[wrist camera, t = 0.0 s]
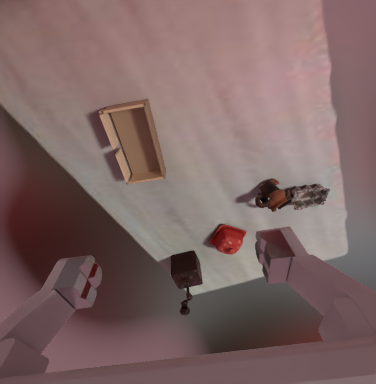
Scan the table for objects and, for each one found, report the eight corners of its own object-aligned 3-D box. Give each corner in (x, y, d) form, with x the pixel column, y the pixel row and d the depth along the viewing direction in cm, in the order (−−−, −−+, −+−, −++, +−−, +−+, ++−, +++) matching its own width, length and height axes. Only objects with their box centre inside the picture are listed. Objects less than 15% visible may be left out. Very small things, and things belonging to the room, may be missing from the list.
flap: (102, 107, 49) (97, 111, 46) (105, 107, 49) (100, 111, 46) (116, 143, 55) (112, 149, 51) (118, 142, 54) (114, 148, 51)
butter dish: (221, 221, 74) (226, 238, 67) (247, 229, 78) (254, 246, 71) (207, 240, 80) (210, 258, 73) (231, 247, 83) (236, 265, 76)
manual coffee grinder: (169, 255, 84) (167, 299, 69) (194, 249, 83) (198, 292, 68) (180, 275, 93) (181, 318, 78) (203, 270, 91) (208, 313, 77)
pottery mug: (282, 172, 64) (300, 193, 60) (272, 187, 72) (287, 205, 69) (251, 188, 61) (268, 210, 58) (244, 201, 70) (258, 221, 66)
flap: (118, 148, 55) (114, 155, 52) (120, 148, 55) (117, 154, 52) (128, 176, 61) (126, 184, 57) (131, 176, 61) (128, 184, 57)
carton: (108, 106, 50) (102, 111, 46) (148, 99, 49) (145, 103, 45) (133, 175, 61) (130, 183, 57) (165, 169, 61) (165, 178, 57)
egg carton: (287, 203, 70) (293, 210, 66) (292, 184, 66) (298, 191, 62) (318, 201, 69) (325, 209, 66) (325, 182, 66) (332, 189, 62)
